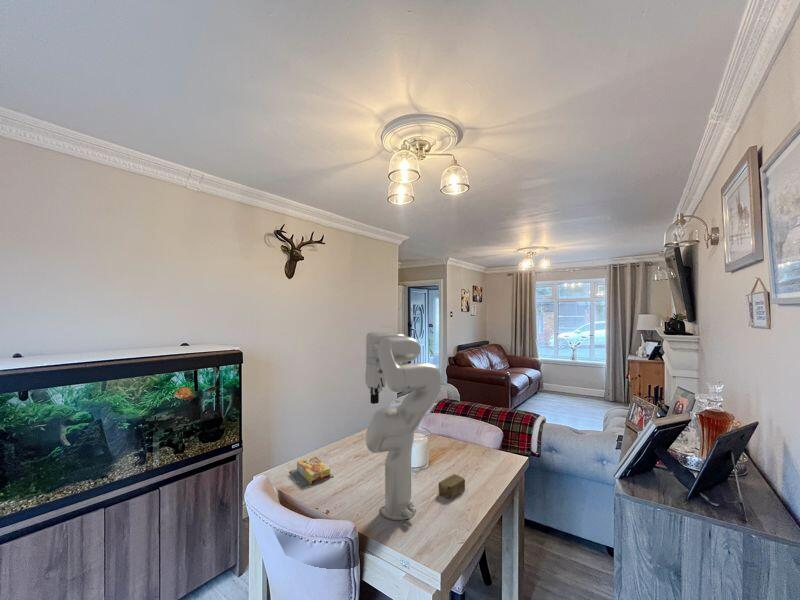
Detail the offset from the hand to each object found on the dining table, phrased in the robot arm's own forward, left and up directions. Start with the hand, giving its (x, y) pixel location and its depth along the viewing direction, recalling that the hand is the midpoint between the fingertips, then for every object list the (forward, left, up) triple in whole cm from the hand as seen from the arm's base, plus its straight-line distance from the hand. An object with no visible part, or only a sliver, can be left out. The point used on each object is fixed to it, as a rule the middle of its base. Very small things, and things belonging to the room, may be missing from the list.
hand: (374, 403), depth 145 cm
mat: (+19, +21, -32) cm, 43 cm away
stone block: (-27, -20, -32) cm, 47 cm away
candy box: (+10, +20, -30) cm, 37 cm away
